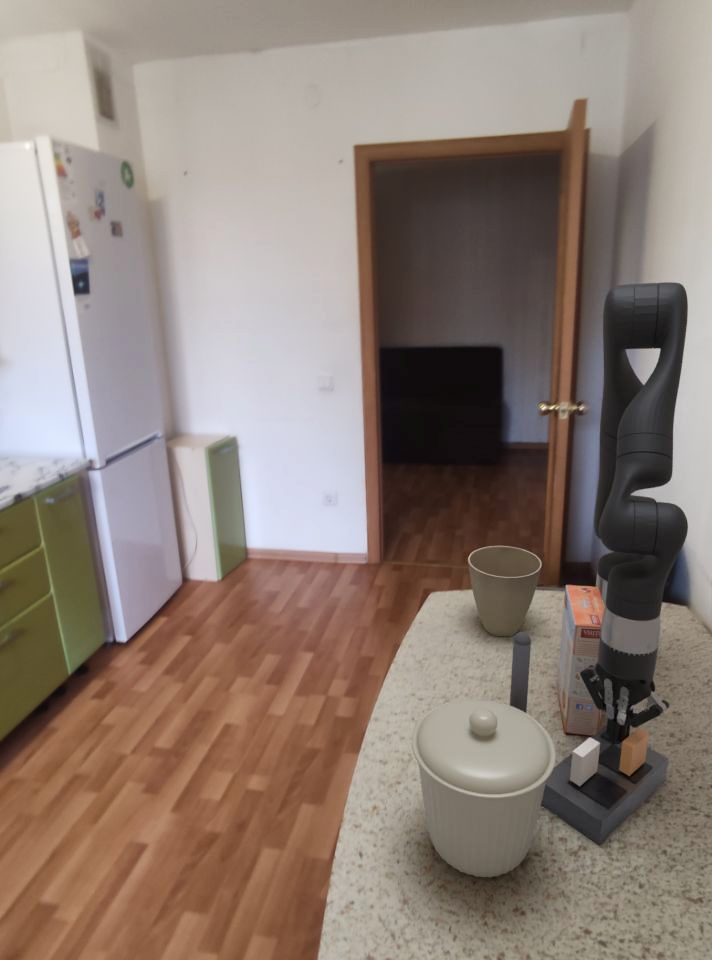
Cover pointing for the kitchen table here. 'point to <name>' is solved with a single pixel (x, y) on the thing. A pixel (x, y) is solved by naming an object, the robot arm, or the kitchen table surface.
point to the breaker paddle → (633, 751)
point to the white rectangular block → (584, 761)
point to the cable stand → (520, 671)
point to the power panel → (602, 790)
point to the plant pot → (503, 586)
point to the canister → (482, 782)
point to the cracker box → (579, 658)
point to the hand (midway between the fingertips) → (616, 739)
